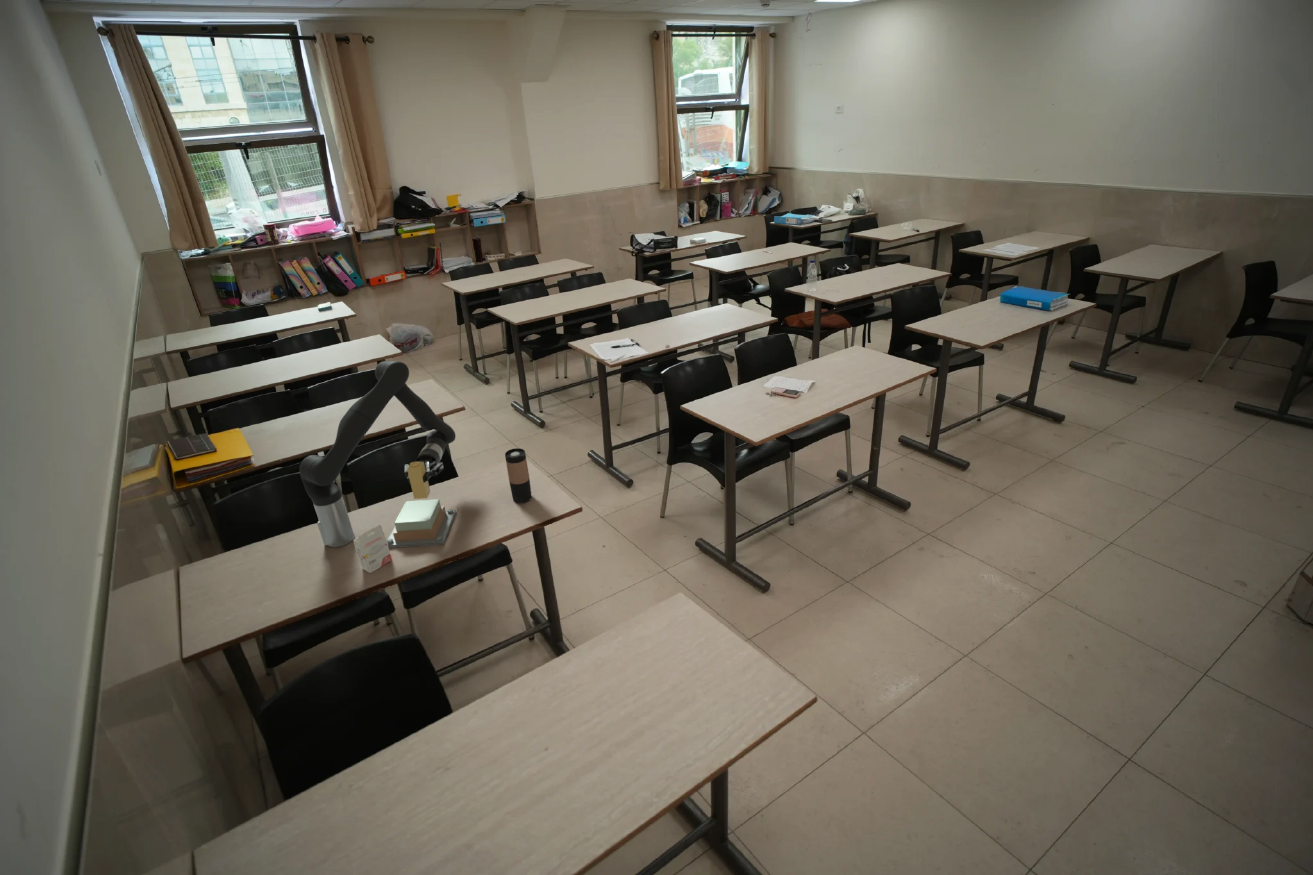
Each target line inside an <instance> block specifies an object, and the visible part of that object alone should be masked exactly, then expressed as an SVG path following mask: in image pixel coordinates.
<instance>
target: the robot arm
mask: <svg viewBox="0 0 1313 875" xmlns="http://www.w3.org/2000/svg"><path fill="white" fill-rule="evenodd" d="M374 375H375V378H376V380H377V382H376V383H375V385H374V387H373V388H371V390H369V391H368V392H367V393H366V394H365V395H363V396H362V397H360V398H359V399H358V400H357V401H355V403H353V404H352V405H351V406H350V407H349V408H348V410H347V411H346V412H345V414H344V415H343V416H342V418H341V419H340V421H339V423H338V427H337V433H336V437H335V440H334V442H333V445H332V446H331V448H330V449H329V451H328V452H327V453H326V454H325V455H324V456H321V455H317V454H312V455H311V454H310V455H308V456H306V457H305V458H304V459H303V460H302V461H301V463H300V465H299V475H300V479H301V481H302V484H303V486H304V489H305V491H306V494H307V495H308V497H309V498H310V499H311V502H312V503H313V507H314V510H315V513H316V515H317V519H318V521H317V523H316V524H317V527H318V530H319V533H320V537H321V540H322V543H323V546H325V547H326V546H328V547H329V548H340V547H344V546H346V545H348V544H350V543H351V542H353V540H354V539H355V533H354V529H353V526H352V523H351V520H350V517H349V514H348V510H347V507H346V503H345V501H344V497H343V494H342V492H341V488H340V487H339V486H338V485H337V484H336V483H335V481H336V480H337V478H339V475H340V473H341V472H342V470H343V469H344V467H345V465H346V464H347V462H348V460H349V458H350V456H351V455H352V453H354V450H356V447H357V446H358V445H359V443H360V442H361V441H362V439H363V438H364V436H365V435H366V434H367V433H368V432H369V430H370V429H371V428H372V426H373V424H374V423H375V422H376V421H377V419H378V418H379V416H380V414H382V412H383V411H384V409H386V406H387V405H388V403H389V402H390V400H392V399H393V397H395V398H396V399H397V400H398V402H400V403H401V404H402V406H404V408H405V409H406V410H407V411H408V412H409V414H410V415H411V416H412V417H413V418H414V420H415V421H416V422H417V424H418V425H419V426H420V427H421V428H422V429H423V430H424V431H428V430H431V431H430V432H429V433H428V434H427V435H426V444H425V446H424V447H423V448H422V449H421V451H420V452H419V454H418V456H417V457H416V460H415V462H424V466H425V470H426V472H425V474H424V476H423V482H424V483H425V482H426V481H428V482H429V480H430V478H431V477H437V476H438V475H439V474H440V473H441V472H442V471H443V470H445V467H444V464H443V462H441V460H442V457H443V455H444V453H445V450H446V447H447V446H446V445H449V444H451V443H454V441H455V440H456V432H455V430H454V429H453V428H452V427H451V425H449V424H448V423H447V422H445V421H444V420H442V419H441V418H440V417H439V416H438V415H436V413H435V412H434V411H433V409H432V408H431V407H430V406H429V404H428V402H427V403H426V401H424V400H423V399H422V398H421V397H420V396H419V395H418V394H416V393H415V392H414V391H413V389H411V388H410V387H409V386H408V385H407V381H408V380H409V376H410V370H409V367H408V365H407V364H406V363H405V362H402V361H399V360H385V361H380V362H379V363H377V365H376V367H375V369H374ZM408 466H409V464H404V474H405V475H404V476H405V478H406V480H407V483H409V484H411V483H410V479H409V475H408V471H407V468H408Z"/></svg>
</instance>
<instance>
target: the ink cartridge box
mask: <svg viewBox="0 0 1313 875" xmlns="http://www.w3.org/2000/svg"><path fill="white" fill-rule="evenodd" d="M352 542H353V545H354V547H355V550H356V553H357V557H358V559H359V562H360V566H361V568H362V570H364V571H366V572H367V573H369V574H371V573H373V572H375V571H376V570H378V569H381V567H383V566H385V565H387V564H388V563H390V562H392V561H393V559H392V555H391V552H390V548H388V544H387V537H386V535H385V532H384V530H383V527H382V525H381V524H379V525H377V526H375V527H373V528H371V529H369V530H368V531H367V530H366V531H365V532H364V533H362V534H360V535H358V537H356V538H354V539H353V540H352Z"/></svg>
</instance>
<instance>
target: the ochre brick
mask: <svg viewBox="0 0 1313 875" xmlns="http://www.w3.org/2000/svg"><path fill="white" fill-rule="evenodd" d="M407 471H408V475H409V479H410V483H409V484H410V486H411V491H412V494H413V499H415V500H416V499H428V497H429V495H430V493H431V488H430V484H429V483H430V482H429V480H428V481H426V482H425V483H424V482H423V476H424V474H425V472H426V470H425V466H424V462H416V461H412V462H410V463H409V464H408V468H407Z"/></svg>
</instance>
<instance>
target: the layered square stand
mask: <svg viewBox="0 0 1313 875" xmlns="http://www.w3.org/2000/svg"><path fill="white" fill-rule="evenodd" d="M456 513H457V512H456V509H452V508H449V509H447V510H446V507H445V505H441V502H440V499H439V498H434V499H422V500H407V501H405V502H404V504H403V506H402V507H401V510H400V512H399V514H398V516H397V517H396V519H395V522H394V527H393V529H392V532H390V535H389V536H388V538H387V539H386V541H387V544H388V548H389V549H395V548H409V547H422V546H423V547H425V546H436V545H437V546H439V545H444V543H445V542H446V539H447V536H448V533H449V531H450V528H451V527H452V526H451V525H452V524H453V521H454V519H455V517H456Z"/></svg>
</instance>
